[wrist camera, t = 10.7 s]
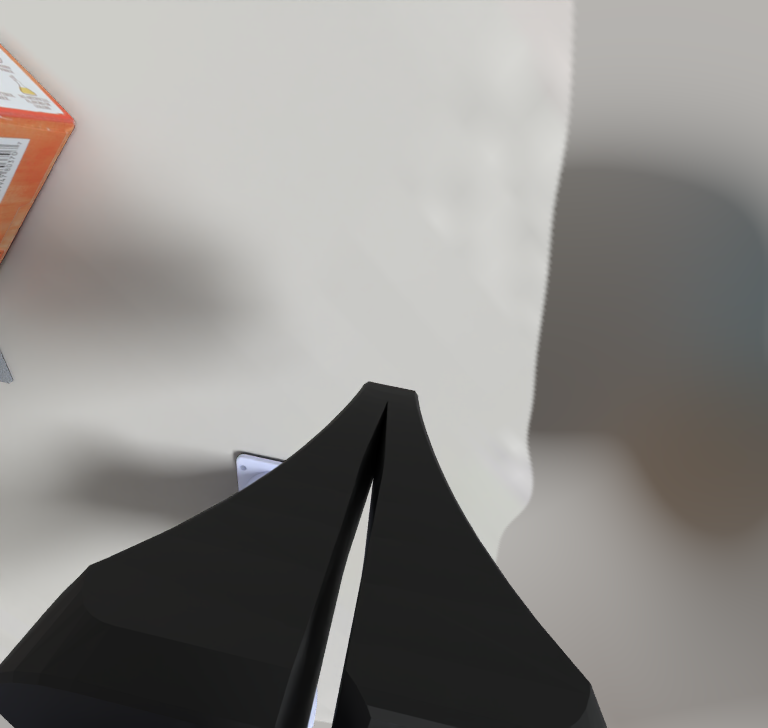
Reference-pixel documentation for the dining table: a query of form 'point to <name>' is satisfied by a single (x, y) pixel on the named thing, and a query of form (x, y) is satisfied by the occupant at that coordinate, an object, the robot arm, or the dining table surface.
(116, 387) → the dining table surface
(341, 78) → the dining table surface
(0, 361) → the mat
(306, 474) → the robot arm
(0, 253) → the cracker box
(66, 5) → the dining table surface
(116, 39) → the dining table surface
